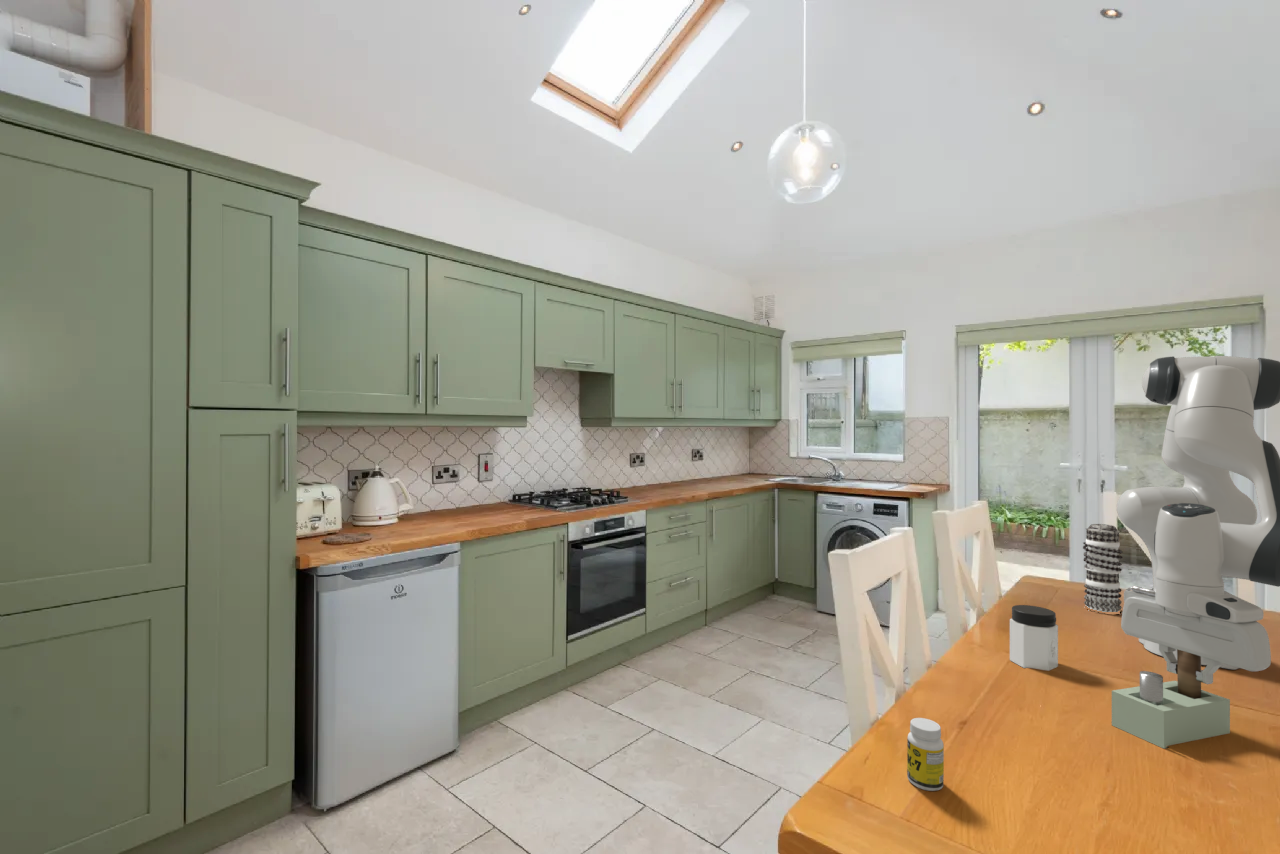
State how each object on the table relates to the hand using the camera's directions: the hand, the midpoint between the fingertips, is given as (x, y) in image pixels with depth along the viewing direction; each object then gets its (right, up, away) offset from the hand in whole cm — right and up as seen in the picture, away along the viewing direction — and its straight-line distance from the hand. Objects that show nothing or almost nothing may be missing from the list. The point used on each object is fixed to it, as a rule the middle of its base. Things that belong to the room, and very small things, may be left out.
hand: (1189, 677), depth 102 cm
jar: (-8, -9, +28) cm, 31 cm away
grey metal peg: (-9, -9, -2) cm, 13 cm away
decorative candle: (+40, -10, +69) cm, 81 cm away
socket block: (-4, -9, -1) cm, 10 cm away
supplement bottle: (-54, -8, -17) cm, 58 cm away
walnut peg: (0, -4, 0) cm, 4 cm away
